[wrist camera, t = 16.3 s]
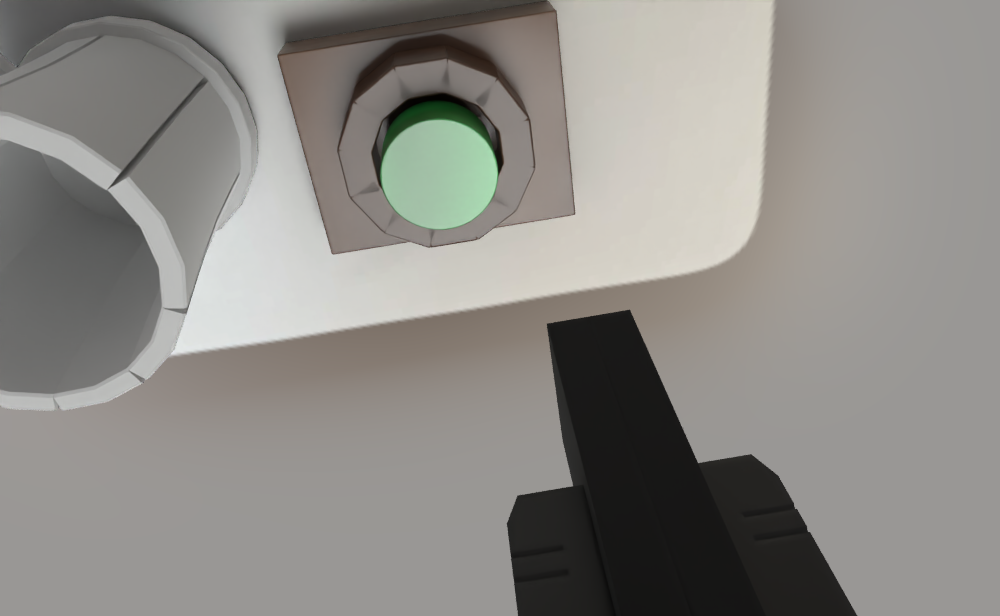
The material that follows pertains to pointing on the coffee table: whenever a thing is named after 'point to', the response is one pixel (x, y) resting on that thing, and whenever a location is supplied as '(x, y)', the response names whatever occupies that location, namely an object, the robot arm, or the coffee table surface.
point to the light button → (438, 165)
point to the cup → (109, 203)
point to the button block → (428, 77)
